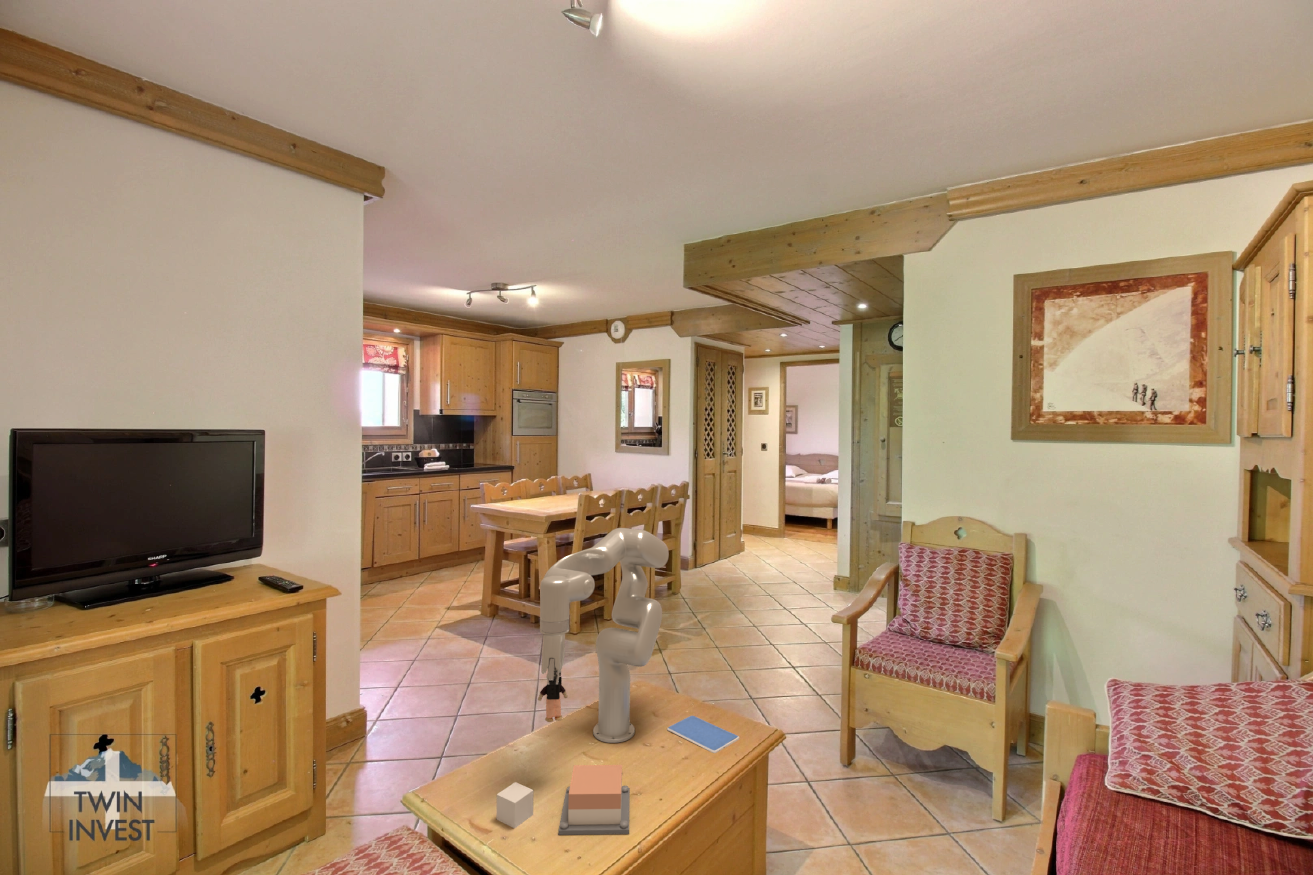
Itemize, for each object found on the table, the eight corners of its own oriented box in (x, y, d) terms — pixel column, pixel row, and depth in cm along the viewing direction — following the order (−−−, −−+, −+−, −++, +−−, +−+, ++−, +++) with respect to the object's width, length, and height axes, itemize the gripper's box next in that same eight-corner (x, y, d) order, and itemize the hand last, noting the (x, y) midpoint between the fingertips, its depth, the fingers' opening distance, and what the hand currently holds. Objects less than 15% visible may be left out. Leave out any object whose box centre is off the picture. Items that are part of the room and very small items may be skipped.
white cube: (496, 819, 139) (496, 794, 139) (515, 806, 144) (515, 781, 144) (514, 828, 136) (515, 802, 136) (533, 814, 141) (533, 789, 141)
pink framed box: (566, 792, 150) (566, 760, 150) (629, 791, 151) (630, 760, 151) (558, 834, 134) (558, 799, 134) (629, 833, 135) (629, 798, 135)
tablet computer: (740, 740, 178) (740, 735, 178) (714, 755, 169) (714, 751, 169) (692, 718, 192) (692, 714, 192) (665, 731, 183) (665, 727, 183)
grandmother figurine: (562, 713, 157) (563, 665, 158) (568, 718, 154) (569, 669, 155) (535, 720, 153) (536, 669, 154) (540, 725, 150) (542, 674, 151)
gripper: (545, 615, 162) (544, 682, 162) (534, 635, 146) (534, 710, 146) (572, 615, 162) (572, 682, 162) (565, 635, 146) (565, 710, 146)
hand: (554, 694), depth 154 cm, fingers closed on grandmother figurine, 3 cm apart
